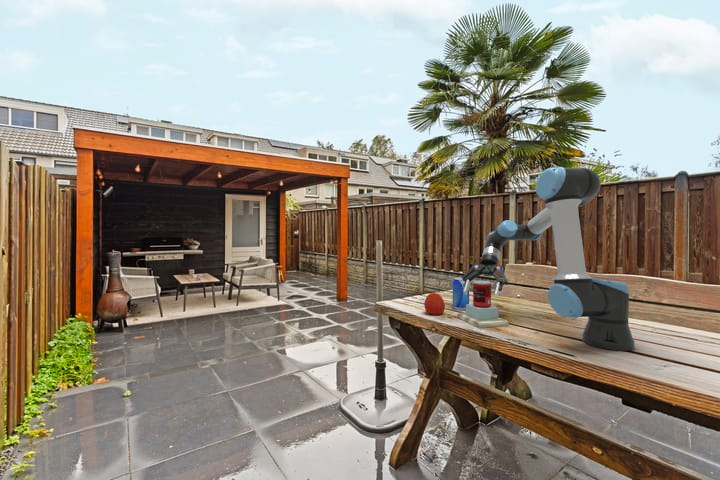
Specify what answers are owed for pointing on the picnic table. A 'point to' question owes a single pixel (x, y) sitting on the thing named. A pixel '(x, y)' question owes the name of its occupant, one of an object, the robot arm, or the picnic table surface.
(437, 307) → the apple
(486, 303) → the canned food
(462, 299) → the beer can
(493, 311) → the pedestal
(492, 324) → the board
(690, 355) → the picnic table surface
